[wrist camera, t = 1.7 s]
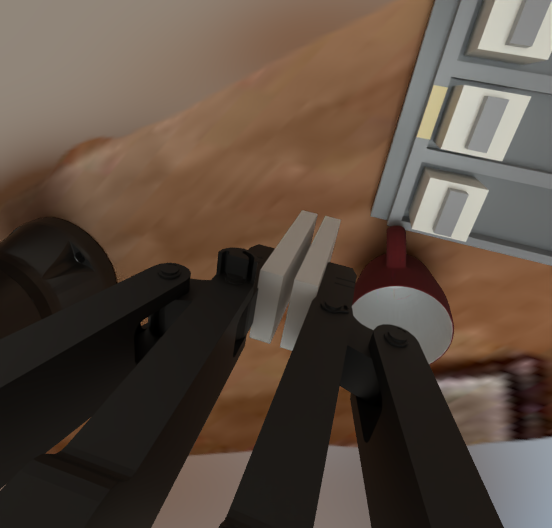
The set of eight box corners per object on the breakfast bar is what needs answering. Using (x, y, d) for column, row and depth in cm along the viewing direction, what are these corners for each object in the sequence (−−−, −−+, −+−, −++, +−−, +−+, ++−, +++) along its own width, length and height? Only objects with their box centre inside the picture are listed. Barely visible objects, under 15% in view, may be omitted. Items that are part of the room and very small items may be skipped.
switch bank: (371, 209, 34) (369, 222, 31) (443, -32, 26) (452, -50, 23) (576, 258, 31) (598, 277, 28) (734, 4, 23) (792, -11, 20)
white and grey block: (463, 55, 26) (481, 47, 21) (487, -13, 24) (513, -40, 19) (522, 65, 25) (555, 58, 20) (552, -5, 23) (595, -30, 19)
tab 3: (408, 211, 31) (412, 233, 27) (424, 166, 30) (432, 180, 25) (455, 222, 31) (468, 247, 26) (475, 177, 29) (492, 193, 24)
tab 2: (433, 141, 29) (443, 151, 24) (452, 86, 27) (467, 84, 22) (485, 151, 28) (506, 163, 23) (509, 96, 26) (537, 96, 21)
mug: (342, 217, 35) (328, 261, 27) (431, 202, 32) (447, 246, 24) (360, 308, 39) (353, 372, 31) (441, 301, 36) (458, 370, 28)
